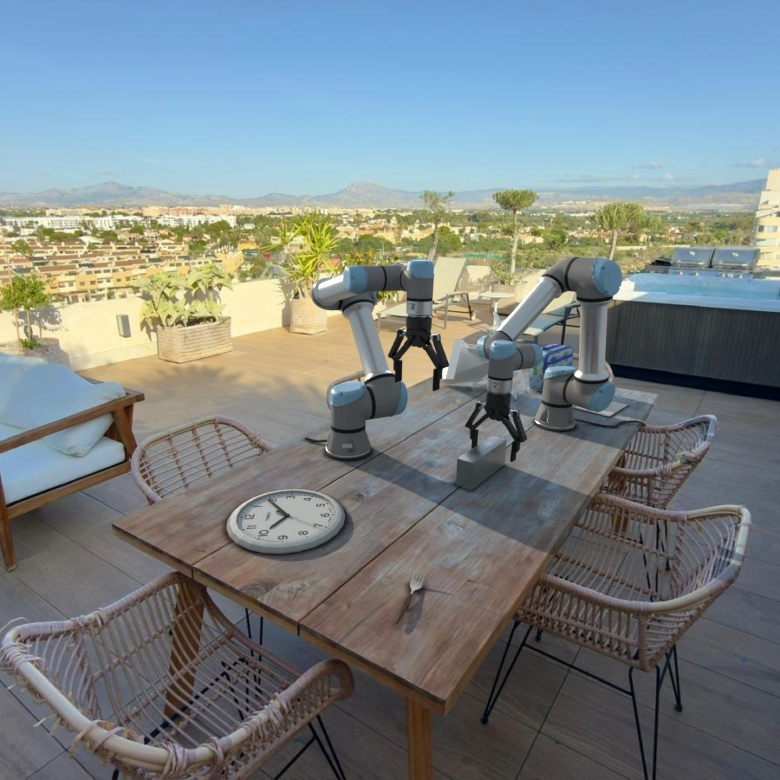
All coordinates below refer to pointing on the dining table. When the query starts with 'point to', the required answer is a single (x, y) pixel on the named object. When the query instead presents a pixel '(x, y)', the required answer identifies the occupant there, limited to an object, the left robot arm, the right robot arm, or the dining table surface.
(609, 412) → the invitation card
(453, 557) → the dining table surface
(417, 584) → the fork
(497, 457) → the bar
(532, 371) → the lunch box
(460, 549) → the dining table surface
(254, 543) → the wall clock
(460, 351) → the white plastic object
